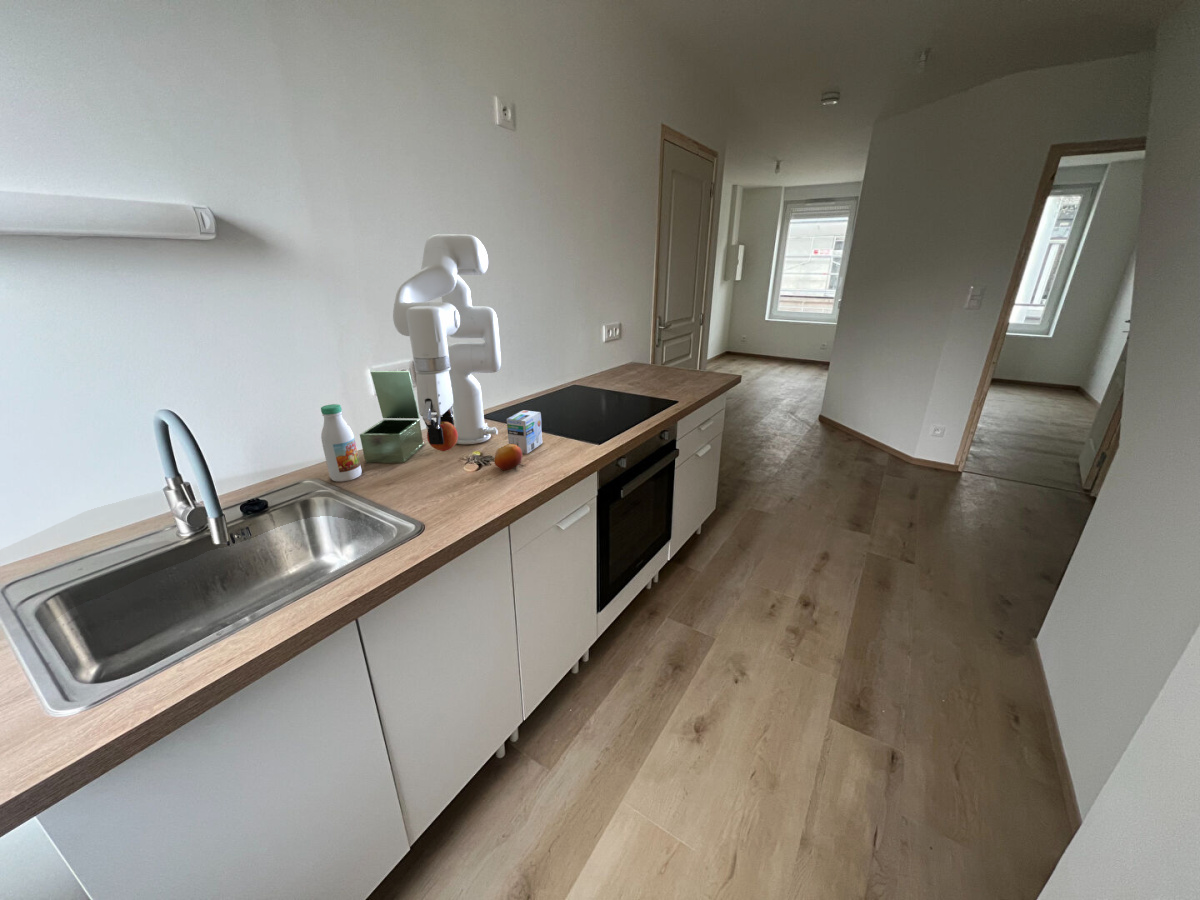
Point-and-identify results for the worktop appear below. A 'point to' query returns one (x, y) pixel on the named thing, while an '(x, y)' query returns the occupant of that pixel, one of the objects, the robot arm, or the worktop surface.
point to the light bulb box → (525, 430)
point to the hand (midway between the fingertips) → (442, 437)
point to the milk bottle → (339, 445)
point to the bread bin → (392, 441)
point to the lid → (395, 394)
